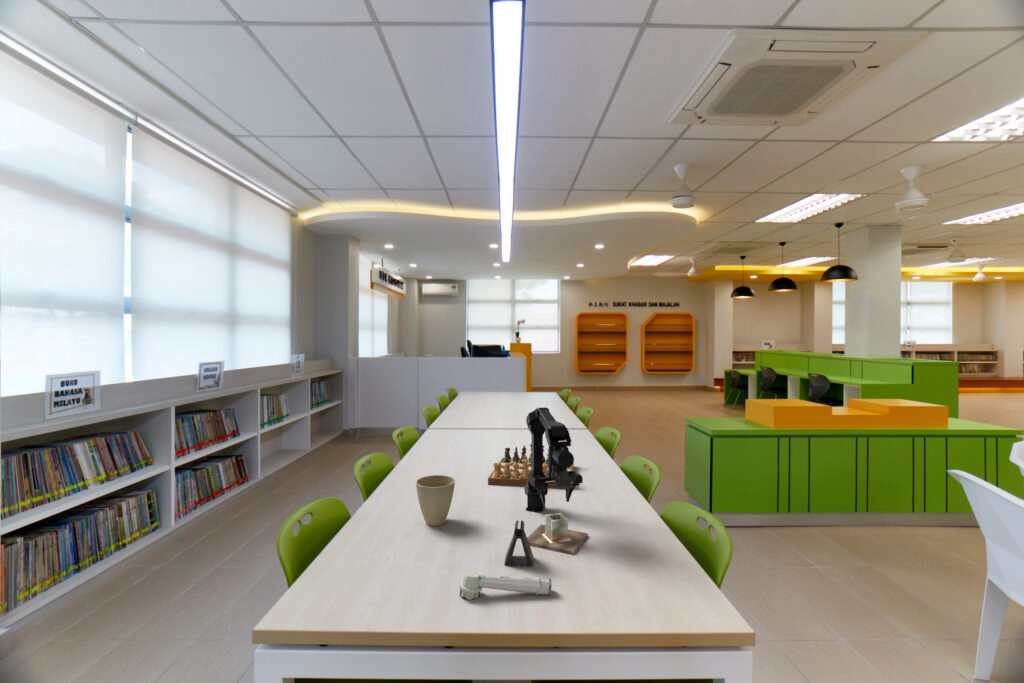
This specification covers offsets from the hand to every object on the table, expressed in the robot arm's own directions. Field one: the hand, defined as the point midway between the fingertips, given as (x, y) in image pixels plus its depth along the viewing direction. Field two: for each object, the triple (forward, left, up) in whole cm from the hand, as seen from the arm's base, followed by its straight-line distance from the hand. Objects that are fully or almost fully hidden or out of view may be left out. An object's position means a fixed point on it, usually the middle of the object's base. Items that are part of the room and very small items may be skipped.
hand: (555, 503), depth 166 cm
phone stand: (-3, -24, -12) cm, 27 cm away
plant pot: (-45, -10, -12) cm, 48 cm away
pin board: (+2, -4, -12) cm, 12 cm away
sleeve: (+2, -4, -10) cm, 11 cm away
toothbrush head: (+1, -42, -12) cm, 44 cm away
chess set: (-36, +64, -12) cm, 75 cm away
